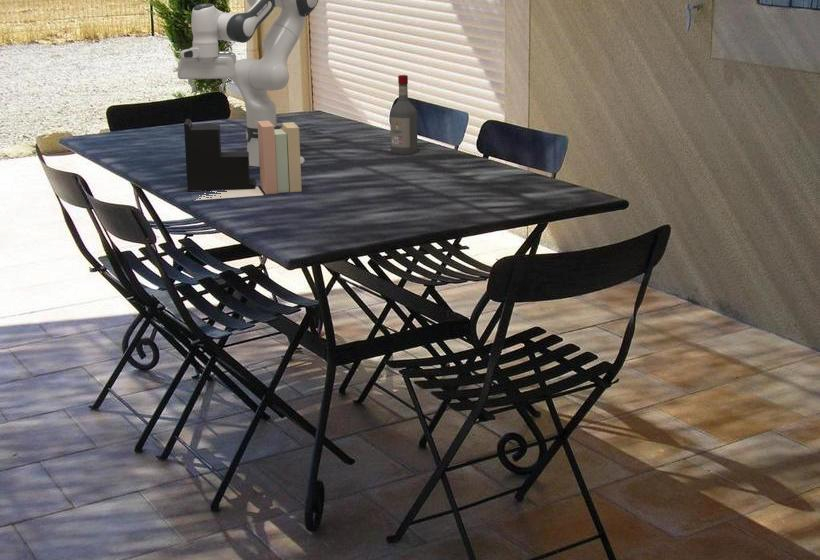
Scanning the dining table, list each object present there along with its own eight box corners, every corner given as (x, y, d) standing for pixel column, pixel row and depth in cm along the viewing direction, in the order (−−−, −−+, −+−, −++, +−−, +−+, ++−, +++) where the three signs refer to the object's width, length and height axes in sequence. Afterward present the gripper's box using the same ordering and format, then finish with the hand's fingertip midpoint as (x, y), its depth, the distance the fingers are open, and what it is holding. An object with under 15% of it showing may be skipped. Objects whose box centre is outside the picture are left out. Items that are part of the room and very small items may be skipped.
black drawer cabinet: (256, 182, 430) (252, 116, 423) (255, 189, 419) (252, 121, 413) (189, 184, 428) (185, 118, 421) (187, 191, 417) (182, 123, 410)
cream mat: (257, 187, 424) (257, 186, 424) (264, 196, 411) (263, 195, 411) (188, 192, 418) (188, 191, 418) (192, 201, 405) (192, 200, 405)
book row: (295, 184, 426) (293, 119, 419) (301, 191, 415) (299, 124, 408) (260, 187, 423) (257, 121, 416) (265, 194, 412) (262, 126, 405)
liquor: (407, 155, 472) (406, 77, 463) (388, 153, 477) (386, 76, 468) (420, 151, 479) (419, 75, 471) (401, 149, 484) (399, 73, 475)
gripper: (235, 50, 427) (237, 89, 431) (176, 51, 424) (179, 91, 428) (235, 52, 421) (237, 92, 425) (175, 53, 418) (178, 93, 422)
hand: (207, 91), depth 427 cm, fingers open, 8 cm apart
